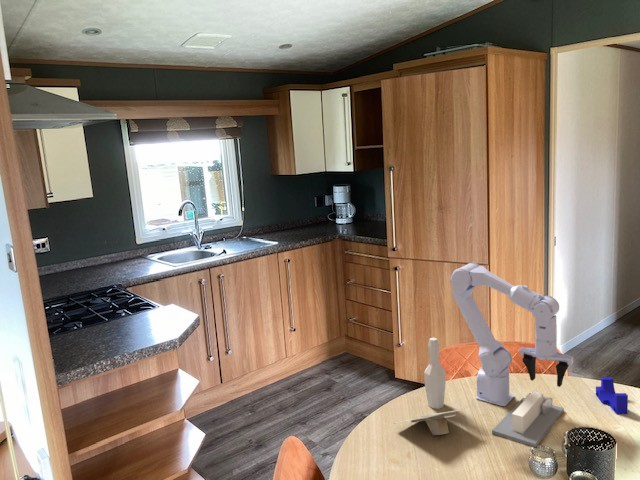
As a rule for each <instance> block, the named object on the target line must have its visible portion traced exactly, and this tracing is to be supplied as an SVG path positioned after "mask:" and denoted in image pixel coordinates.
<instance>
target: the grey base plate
mask: <svg viewBox="0 0 640 480" xmlns="http://www.w3.org/2000/svg"><path fill="white" fill-rule="evenodd" d="M531 393H532V392H529V393H528V394H527V395H526V396H525V397H522V398H521V399H520V400H519V401H518V403H516V405H515V406H514V407H513V408H512V409H511V410H510V411H509V412H508V413H507V414H506V415H505V416H504V417H503V418H502V419H501V420H500V422H498V423H497V425H496V426H494V427H493V429H492V430H491V434H493V435H494V436H498V437H501V438H504V439H507V440H511V441H514V442H518V443H521V444H522V445H527V446H530V447H533V448H536V447H537V446H538V445H539V444H540V442H541V441H542V440H543V438H544V437H545V436H546V434H547V433H548V432H549V431H550V429H551V428H552V427H553V426H554V424H555V423H556V421H558V419H559V418H560V417H561V415H562V414H563V413H564V411H565V409H564V407H561V406H557V405H553V397H548V396H544V395H543V405H542V412H541V413H540V414H539V415H538V416H537V418H536V419H535V420H534V421H533V422H532V423H531V425H530V426H529V427H528V428H527V429H526V431H525V432H524V433H523V434H522V433H519V432H516V431H513V430H512V413H513V412H514V411H515V410H516V409H517V408H518V407H519V406H520V405H521V404H522V402H523V401H524V400H525V399H526V398H527V397H528V396H529V395H530V394H531Z"/></svg>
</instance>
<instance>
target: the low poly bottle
mask: <svg viewBox="0 0 640 480" xmlns="http://www.w3.org/2000/svg"><path fill="white" fill-rule="evenodd" d="M427 349H428V359H429V362H428V363H429V364H428V365H427V367H426V369H425V370H424V372H423V375H424V376H423V377H424V387H425V393H426V399H427V404H428V405H427V406H428V407H430V408H432V409H438V410H439V409H441V408H443V407H444V403H445V393H446V380H447V379H446V370H445V368H444V367H443V366H442V365H441V364H440V355H439V353H440V342H439V340H438V338H436V337H430V338H429V340H428V344H427Z"/></svg>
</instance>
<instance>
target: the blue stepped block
mask: <svg viewBox="0 0 640 480" xmlns="http://www.w3.org/2000/svg"><path fill="white" fill-rule="evenodd" d="M614 383H615V381H614V378H613V377H611V376H610V377H608V376H607V377H606V376H604V377H600V386H595V396H596V397H597V398H598V399H599V401H600V403H601V404H602V405H608V406H609V408H611V409H612V411H613V412H614V413H615V415H629V414H628V409H629V408H628V406H629V404H628V403H629V395H628V394H627V393H626V392H622V393H621V392H619V393H617V392H616V389H615V385H614Z"/></svg>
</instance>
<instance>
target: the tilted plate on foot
mask: <svg viewBox="0 0 640 480" xmlns="http://www.w3.org/2000/svg"><path fill="white" fill-rule="evenodd" d="M464 410H465V408H463V409H462V408H461V409H456V410H451V411H443V412H437V413H432V414H431V413H430V414H427V415H422V416H421V417H417V418H409V419H405V420H401V421H400V423H404V422H409V421H410V422H411V423H419V422H420V423H421V422H425V423H426V424H427V427H428V428H429V430H430V433H431V435H432V436H440V435H445V434H446V435H447V434H449V433H450V432H449V426H448V421H447V419H448V418H452V417H456V415H457V413H456V412H458V411H464ZM396 423H397V424H398V423H399V421H397V422H393V424H396Z"/></svg>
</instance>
